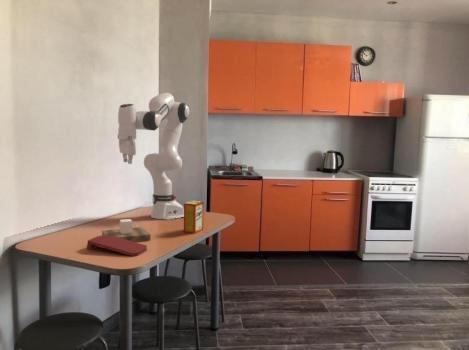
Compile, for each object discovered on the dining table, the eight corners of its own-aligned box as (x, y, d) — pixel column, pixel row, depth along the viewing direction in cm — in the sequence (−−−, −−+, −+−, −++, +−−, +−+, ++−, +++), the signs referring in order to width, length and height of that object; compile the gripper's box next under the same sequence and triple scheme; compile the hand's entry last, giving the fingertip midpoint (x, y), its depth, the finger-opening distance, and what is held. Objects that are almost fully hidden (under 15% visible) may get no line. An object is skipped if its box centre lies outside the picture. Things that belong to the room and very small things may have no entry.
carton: (147, 256, 185) (100, 242, 191) (149, 246, 184) (101, 232, 190) (134, 264, 173) (83, 249, 179) (135, 253, 172) (85, 239, 178)
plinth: (141, 232, 212) (141, 227, 212) (150, 240, 198) (150, 234, 198) (102, 236, 203) (101, 230, 203) (108, 244, 189) (108, 238, 189)
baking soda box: (194, 233, 213) (195, 203, 212) (183, 232, 216) (184, 202, 214) (202, 229, 222) (203, 200, 220) (192, 228, 225) (192, 199, 223)
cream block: (129, 230, 204) (129, 219, 203) (132, 233, 199) (132, 221, 199) (119, 231, 201) (119, 219, 201) (122, 234, 197) (122, 221, 196)
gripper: (138, 136, 200) (139, 164, 202) (128, 135, 218) (129, 161, 220) (126, 136, 197) (126, 165, 199) (116, 135, 215) (117, 161, 217)
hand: (127, 162), depth 210 cm, fingers open, 8 cm apart
